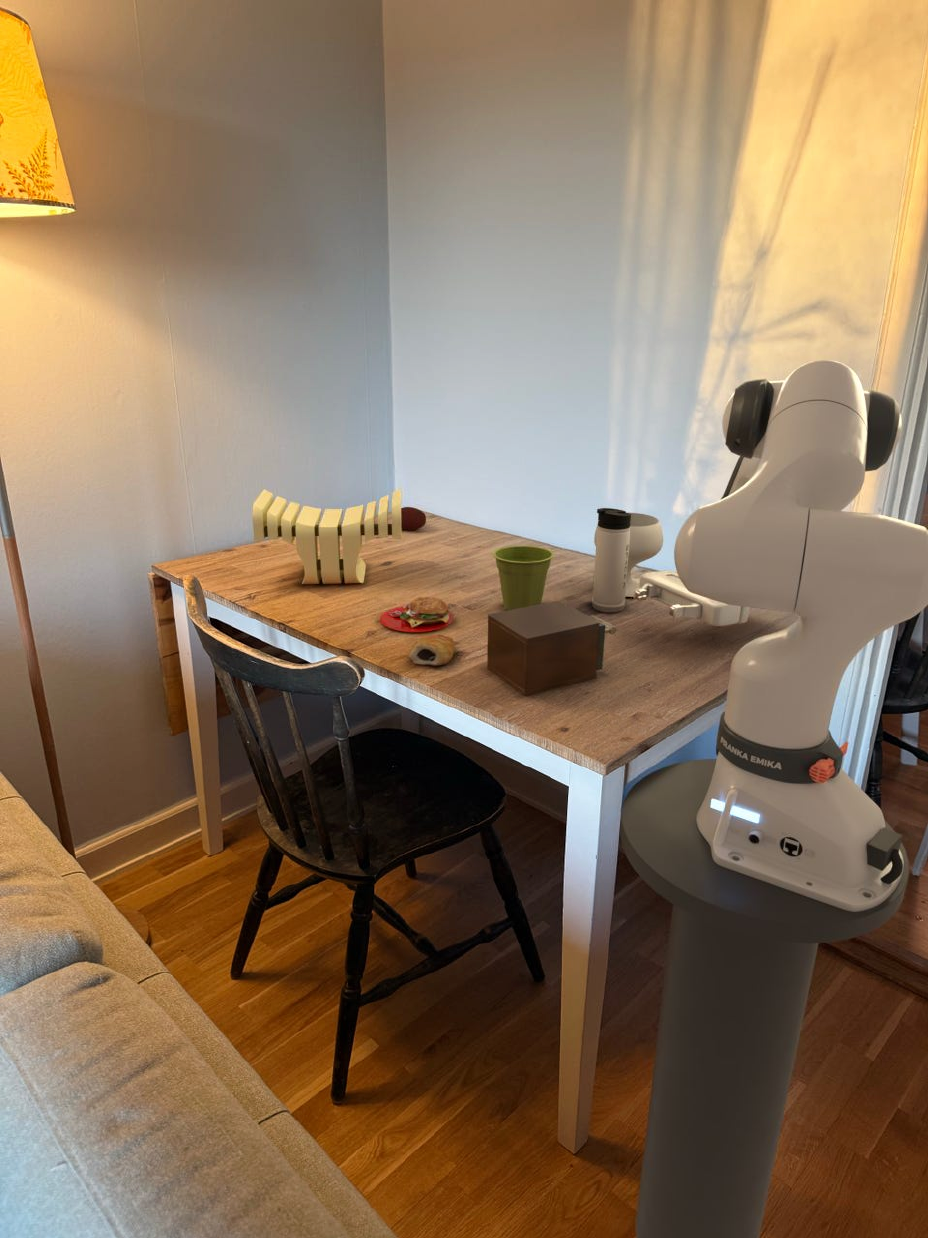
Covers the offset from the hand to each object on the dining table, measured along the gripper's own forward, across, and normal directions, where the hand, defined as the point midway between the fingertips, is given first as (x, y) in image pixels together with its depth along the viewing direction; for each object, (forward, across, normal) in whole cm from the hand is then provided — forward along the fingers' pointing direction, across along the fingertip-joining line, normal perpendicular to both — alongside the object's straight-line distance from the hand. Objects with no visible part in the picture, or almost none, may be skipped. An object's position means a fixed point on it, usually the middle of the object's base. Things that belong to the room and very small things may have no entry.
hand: (653, 603), depth 142 cm
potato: (+4, -91, +8) cm, 91 cm away
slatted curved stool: (+35, -63, +8) cm, 73 cm away
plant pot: (+9, -27, +8) cm, 30 cm away
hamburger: (+30, -31, +8) cm, 44 cm away
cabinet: (+23, 0, +8) cm, 24 cm away
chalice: (-16, -27, +8) cm, 32 cm away
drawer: (+19, 0, +7) cm, 20 cm away
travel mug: (-6, -19, +8) cm, 22 cm away
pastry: (+36, -14, +8) cm, 39 cm away
